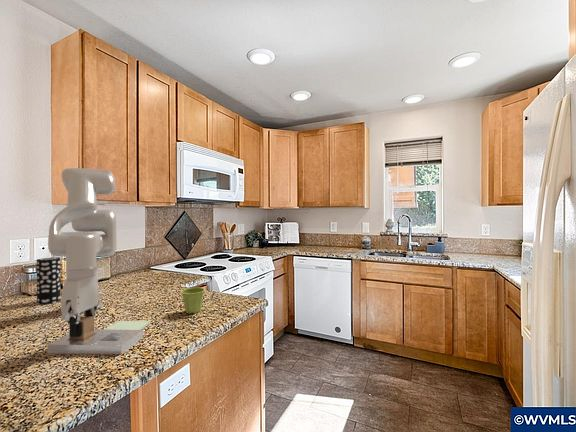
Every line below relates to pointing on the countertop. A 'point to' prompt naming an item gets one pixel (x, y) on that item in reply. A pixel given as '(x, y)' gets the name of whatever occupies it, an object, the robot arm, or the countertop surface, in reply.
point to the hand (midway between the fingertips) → (82, 332)
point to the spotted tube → (48, 281)
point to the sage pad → (128, 325)
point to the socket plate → (98, 342)
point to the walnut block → (85, 328)
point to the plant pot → (193, 299)
